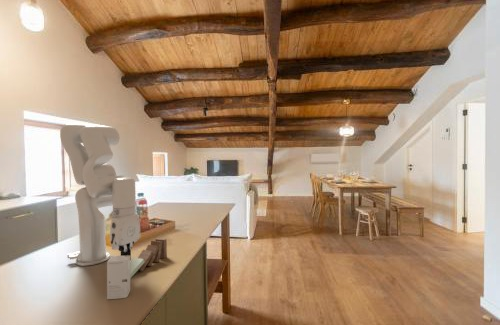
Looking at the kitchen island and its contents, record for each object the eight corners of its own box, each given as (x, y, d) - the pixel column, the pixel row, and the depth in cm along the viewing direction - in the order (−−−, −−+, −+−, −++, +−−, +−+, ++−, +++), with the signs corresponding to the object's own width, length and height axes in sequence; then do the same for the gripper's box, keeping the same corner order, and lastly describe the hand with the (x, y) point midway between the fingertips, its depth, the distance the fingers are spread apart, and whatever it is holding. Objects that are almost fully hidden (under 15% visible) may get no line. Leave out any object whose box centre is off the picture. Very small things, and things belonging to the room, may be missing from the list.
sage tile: (129, 275, 93) (143, 259, 100) (119, 273, 95) (134, 257, 102) (130, 278, 94) (144, 262, 101) (120, 276, 95) (135, 260, 102)
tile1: (140, 269, 98) (152, 251, 104) (131, 267, 100) (143, 249, 106) (142, 271, 99) (153, 253, 105) (133, 269, 101) (144, 252, 107)
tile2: (148, 265, 103) (157, 245, 107) (139, 263, 104) (148, 244, 109) (150, 266, 104) (159, 247, 108) (141, 265, 105) (150, 246, 110)
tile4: (164, 258, 112) (164, 240, 111) (155, 257, 113) (155, 239, 113) (166, 257, 113) (166, 239, 113) (158, 255, 115) (157, 238, 114)
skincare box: (106, 300, 80) (105, 261, 80) (111, 292, 84) (110, 256, 84) (128, 297, 81) (127, 259, 81) (131, 290, 86) (130, 254, 85)
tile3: (156, 261, 107) (160, 241, 109) (147, 260, 109) (151, 240, 111) (159, 261, 108) (162, 241, 110) (150, 260, 110) (153, 240, 112)
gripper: (115, 217, 86) (116, 271, 86) (147, 207, 100) (148, 254, 100) (98, 215, 88) (100, 268, 89) (132, 206, 102) (133, 252, 103)
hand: (125, 260), depth 95 cm, fingers closed
